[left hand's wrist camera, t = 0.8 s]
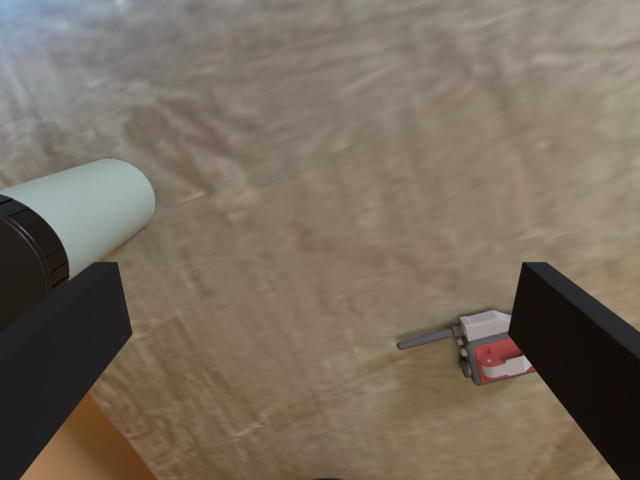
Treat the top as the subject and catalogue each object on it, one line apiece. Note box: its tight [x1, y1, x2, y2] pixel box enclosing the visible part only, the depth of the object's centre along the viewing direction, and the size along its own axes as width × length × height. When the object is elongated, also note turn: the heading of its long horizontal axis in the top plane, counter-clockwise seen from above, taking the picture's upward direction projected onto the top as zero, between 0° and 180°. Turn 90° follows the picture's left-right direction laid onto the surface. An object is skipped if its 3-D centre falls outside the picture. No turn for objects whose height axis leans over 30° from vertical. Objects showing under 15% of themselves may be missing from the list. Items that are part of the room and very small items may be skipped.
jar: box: [0, 159, 156, 280], centre depth 32 cm, size 8×8×18 cm
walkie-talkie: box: [397, 310, 536, 386], centre depth 44 cm, size 9×4×20 cm
